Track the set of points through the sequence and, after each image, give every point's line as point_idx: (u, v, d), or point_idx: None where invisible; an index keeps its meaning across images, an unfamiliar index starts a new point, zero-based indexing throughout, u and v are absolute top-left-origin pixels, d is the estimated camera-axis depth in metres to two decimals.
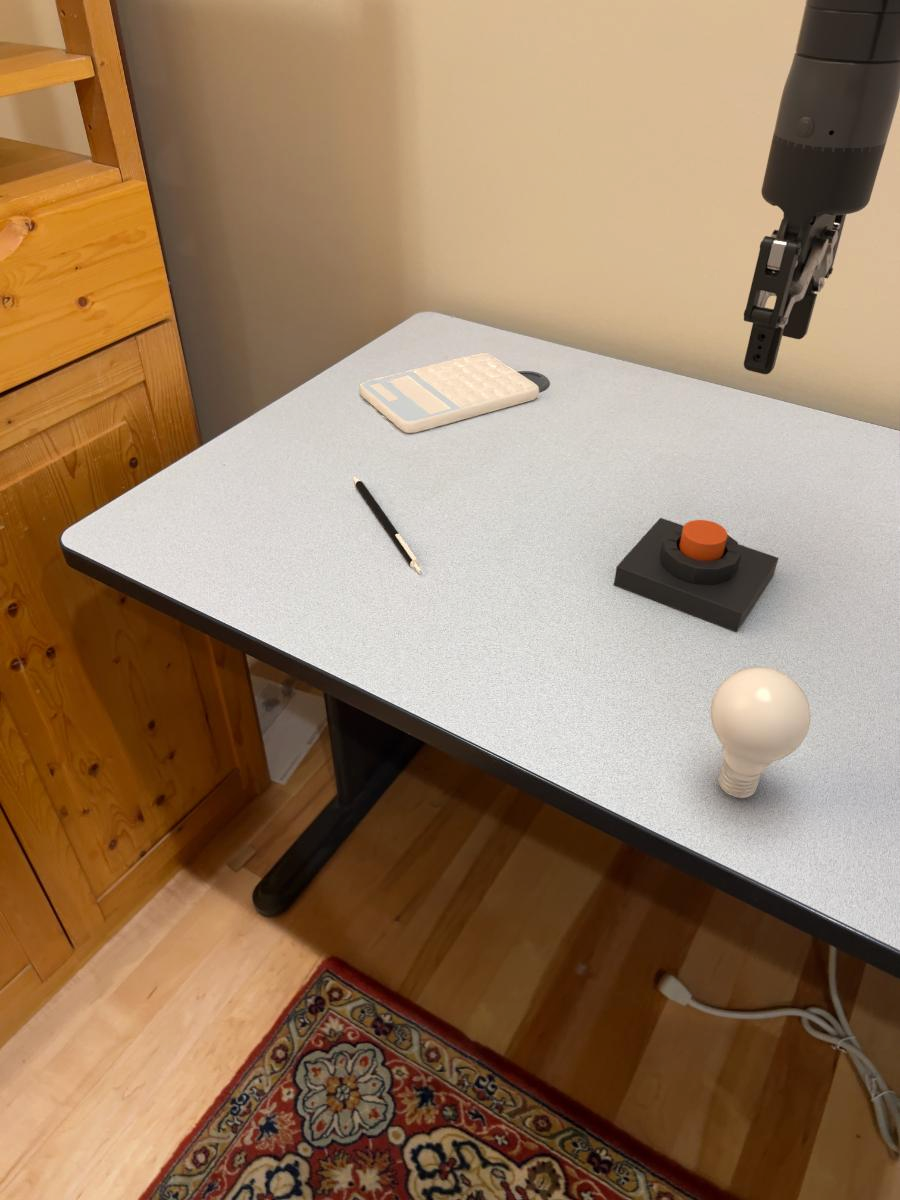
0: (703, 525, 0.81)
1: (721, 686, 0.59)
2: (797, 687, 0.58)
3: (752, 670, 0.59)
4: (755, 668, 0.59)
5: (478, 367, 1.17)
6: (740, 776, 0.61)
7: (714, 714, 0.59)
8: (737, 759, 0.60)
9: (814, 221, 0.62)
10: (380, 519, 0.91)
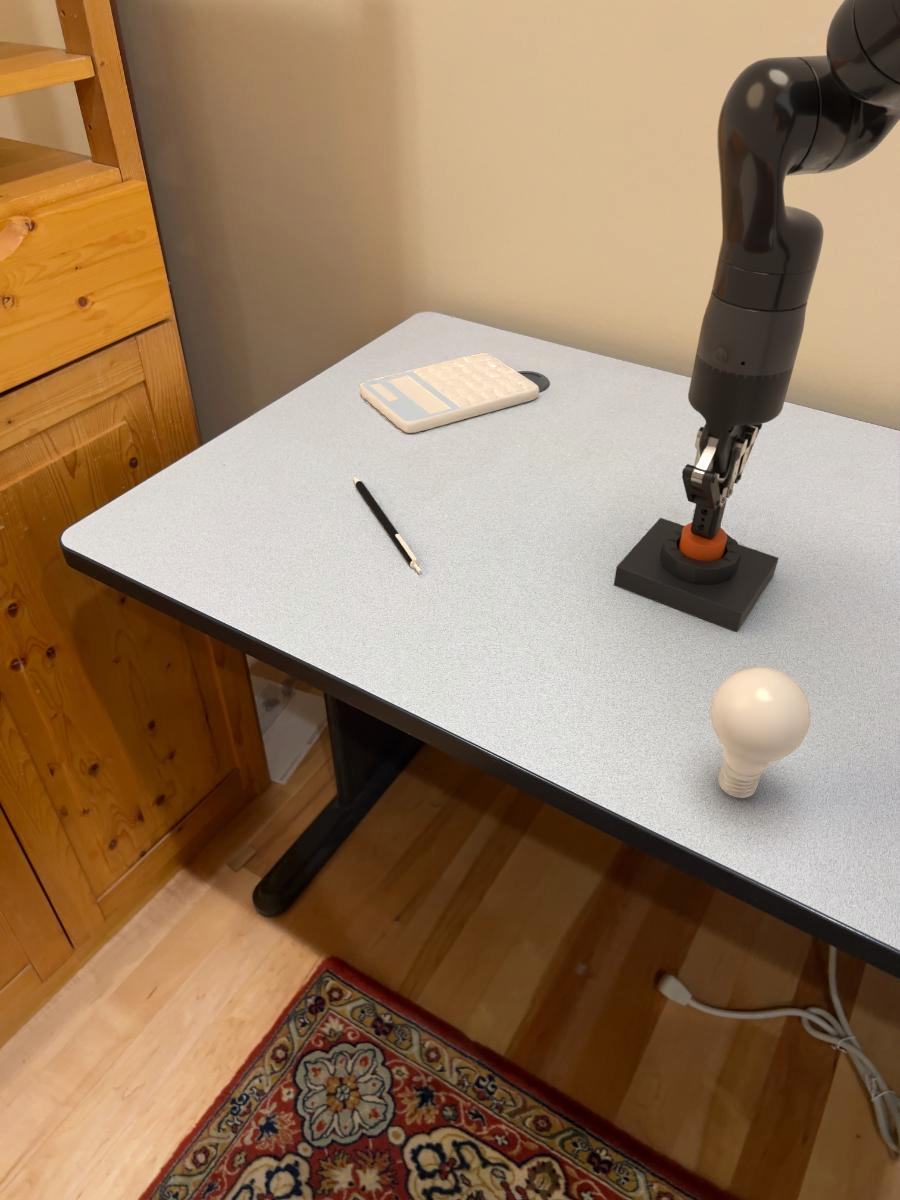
0: None
1: (721, 686, 0.59)
2: (797, 687, 0.58)
3: (752, 670, 0.59)
4: (755, 668, 0.59)
5: (478, 367, 1.17)
6: (740, 776, 0.61)
7: (714, 714, 0.59)
8: (737, 759, 0.60)
9: (732, 428, 0.70)
10: (380, 519, 0.91)
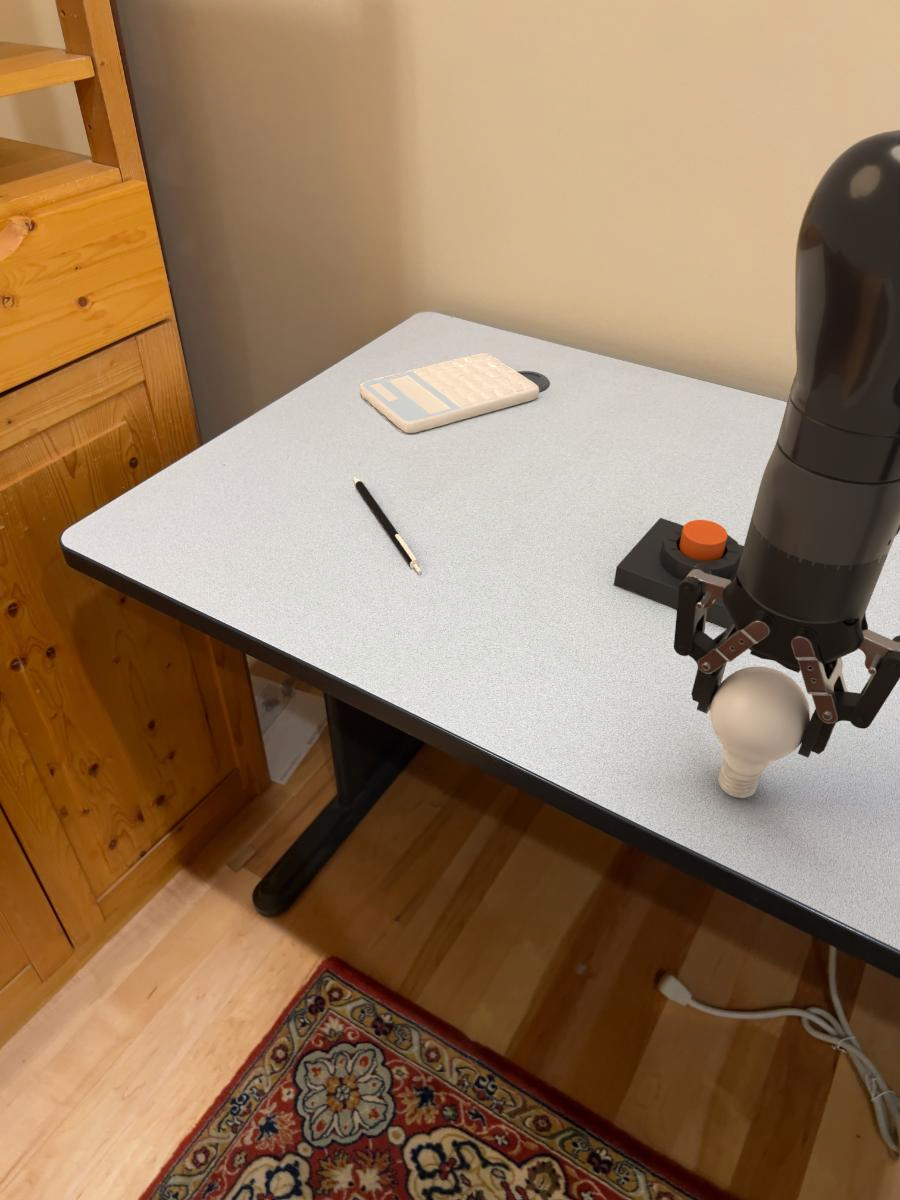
0: (703, 525, 0.81)
1: (720, 686, 0.59)
2: (796, 687, 0.58)
3: (751, 670, 0.59)
4: (754, 668, 0.59)
5: (478, 367, 1.17)
6: (740, 776, 0.61)
7: (714, 714, 0.59)
8: (737, 759, 0.60)
9: None
10: (380, 519, 0.90)
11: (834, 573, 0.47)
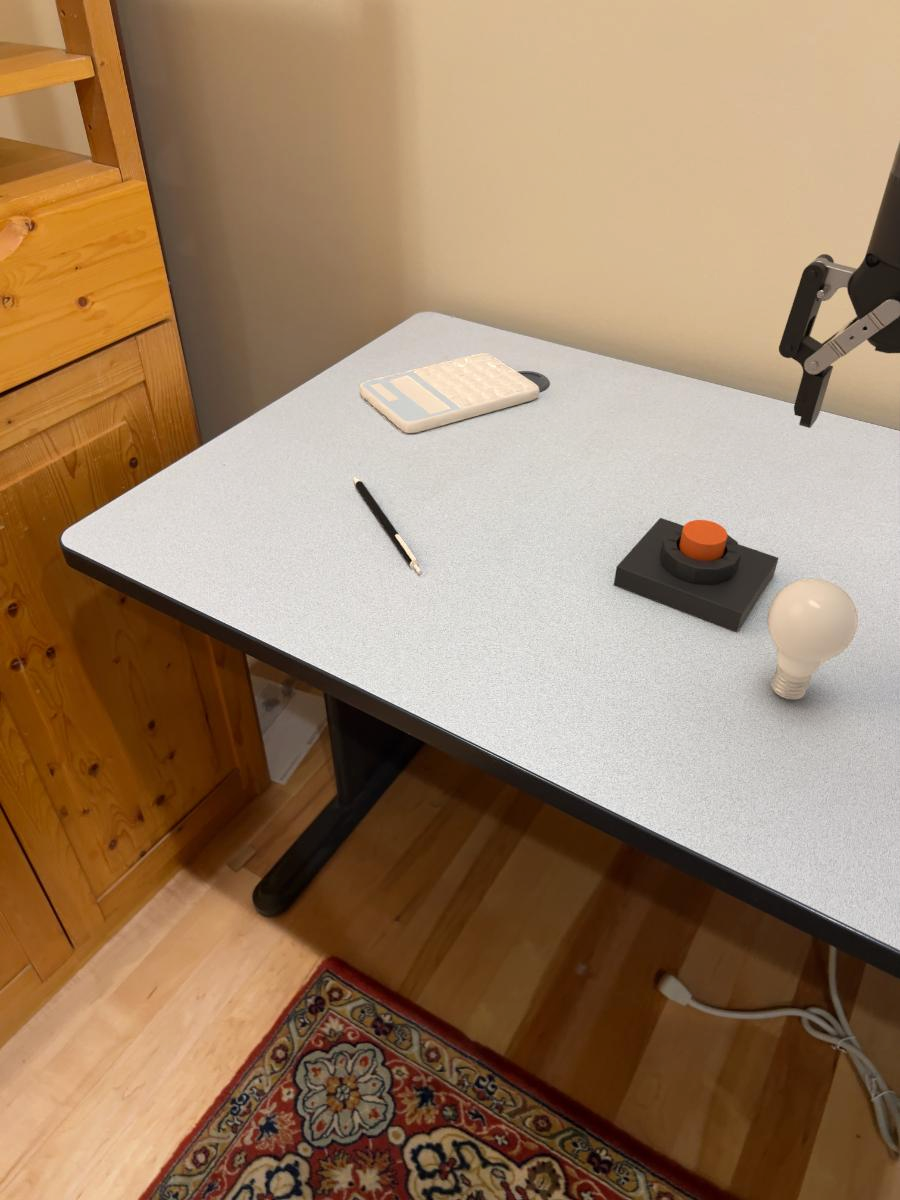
0: (703, 525, 0.81)
1: (777, 595, 0.67)
2: (846, 594, 0.65)
3: (805, 580, 0.66)
4: (808, 579, 0.67)
5: (478, 367, 1.17)
6: (792, 678, 0.69)
7: (772, 620, 0.67)
8: (791, 661, 0.68)
9: (877, 265, 0.51)
10: (380, 519, 0.90)
11: None
